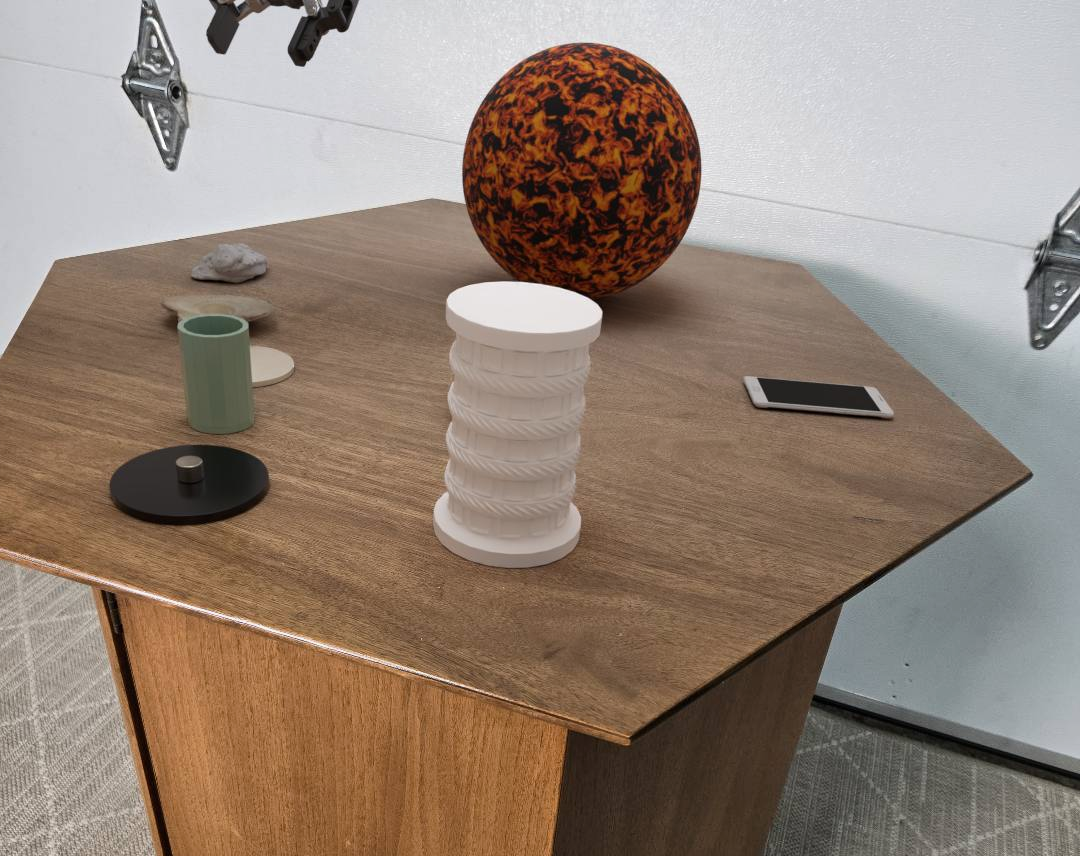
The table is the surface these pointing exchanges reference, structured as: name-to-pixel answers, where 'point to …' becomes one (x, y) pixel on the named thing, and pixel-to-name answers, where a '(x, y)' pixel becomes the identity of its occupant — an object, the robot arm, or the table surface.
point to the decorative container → (515, 422)
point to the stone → (230, 264)
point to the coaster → (269, 366)
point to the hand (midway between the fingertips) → (254, 53)
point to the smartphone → (817, 397)
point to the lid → (189, 484)
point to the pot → (217, 373)
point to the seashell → (217, 306)
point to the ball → (582, 169)
